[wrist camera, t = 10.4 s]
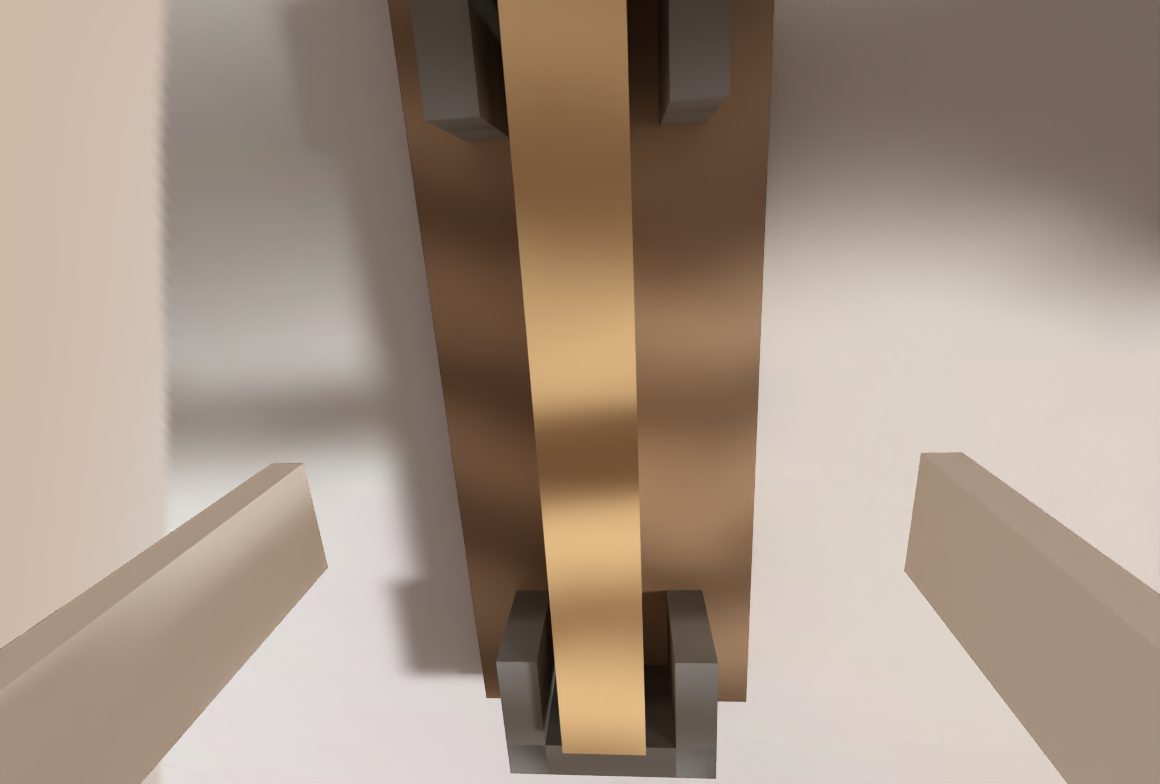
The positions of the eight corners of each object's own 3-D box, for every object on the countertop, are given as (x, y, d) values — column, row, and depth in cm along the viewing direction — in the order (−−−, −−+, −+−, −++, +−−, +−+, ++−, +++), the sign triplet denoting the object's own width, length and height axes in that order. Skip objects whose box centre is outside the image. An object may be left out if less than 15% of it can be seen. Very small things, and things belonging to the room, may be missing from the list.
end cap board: (397, -44, 18) (306, -151, 13) (765, -84, 17) (828, -218, 12) (493, 672, 27) (463, 781, 22) (739, 675, 26) (768, 789, 21)
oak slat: (529, 37, 17) (495, -32, 13) (623, 29, 17) (625, -45, 12) (574, 649, 24) (562, 753, 20) (641, 650, 24) (645, 755, 19)
